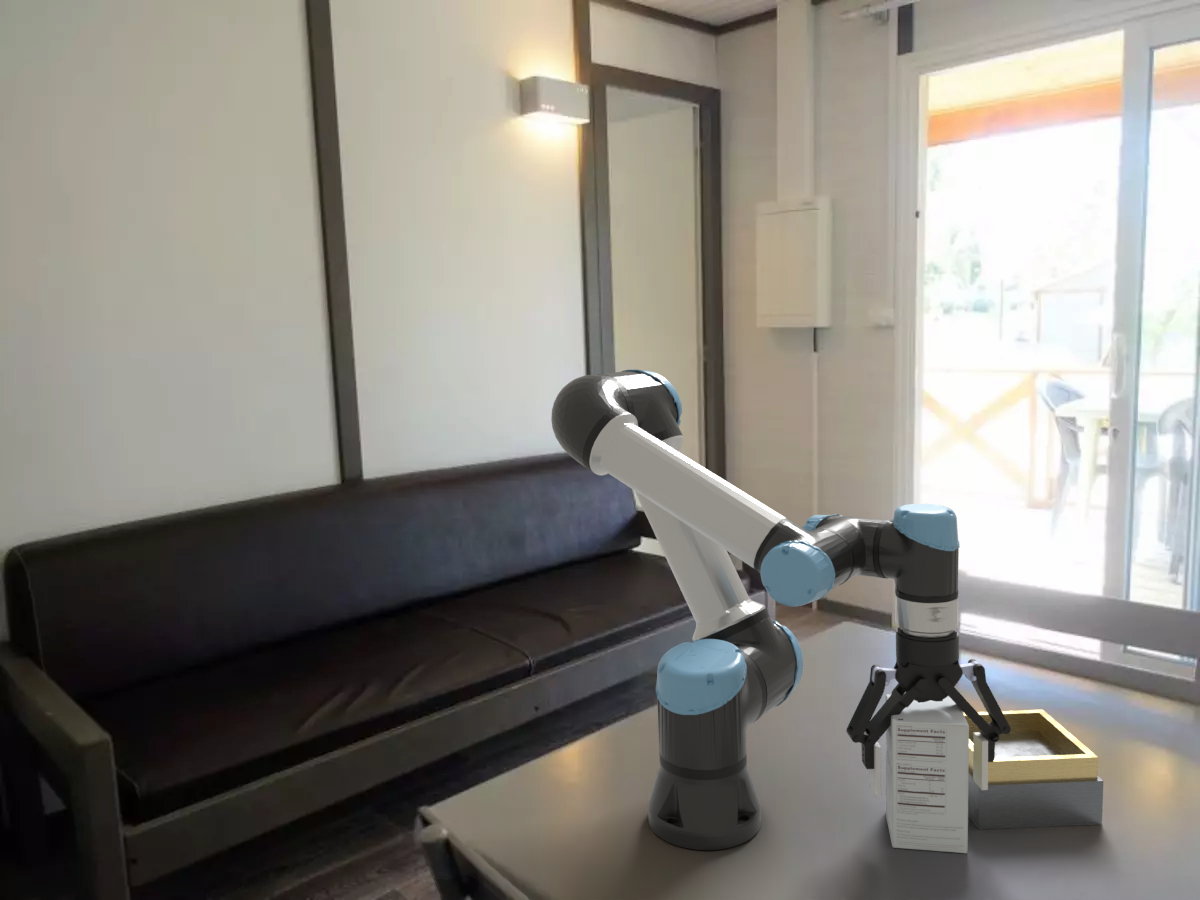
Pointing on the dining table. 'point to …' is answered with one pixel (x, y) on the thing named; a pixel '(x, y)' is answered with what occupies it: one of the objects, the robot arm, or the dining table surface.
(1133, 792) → the dining table surface
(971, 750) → the gray square bin
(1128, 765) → the dining table surface
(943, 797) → the supplement box
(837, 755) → the dining table surface
